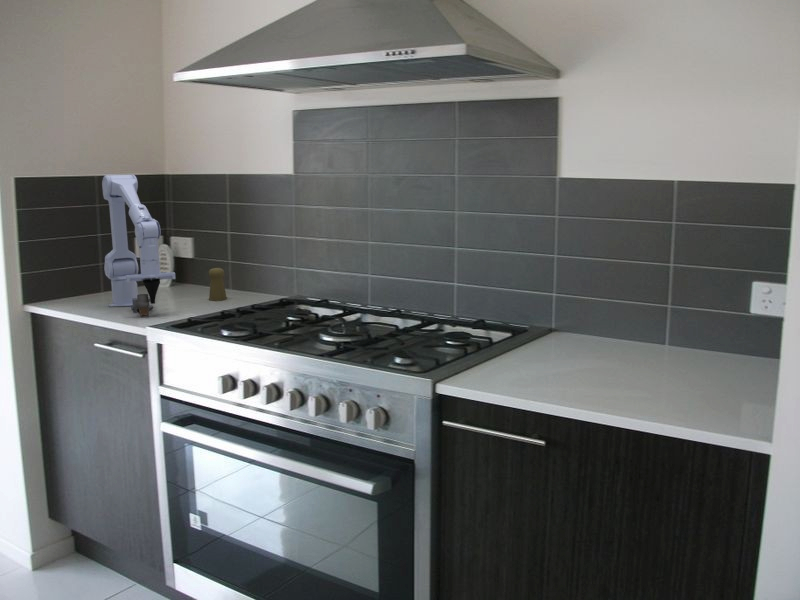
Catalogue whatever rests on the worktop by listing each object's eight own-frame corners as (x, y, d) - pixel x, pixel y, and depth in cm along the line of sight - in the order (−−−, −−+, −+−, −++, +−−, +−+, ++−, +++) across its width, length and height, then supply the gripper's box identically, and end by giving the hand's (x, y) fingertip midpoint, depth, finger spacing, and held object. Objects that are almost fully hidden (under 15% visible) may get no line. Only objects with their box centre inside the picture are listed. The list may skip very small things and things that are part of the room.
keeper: (133, 311, 258) (132, 298, 258) (153, 309, 260) (153, 297, 260) (133, 312, 256) (132, 299, 255) (154, 311, 258) (153, 298, 257)
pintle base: (135, 306, 266) (134, 293, 265) (156, 306, 266) (155, 293, 265) (128, 310, 259) (127, 297, 259) (149, 310, 259) (148, 297, 258)
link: (135, 305, 264) (133, 287, 263) (149, 304, 265) (147, 286, 264) (136, 315, 247) (135, 296, 246) (151, 314, 248) (150, 295, 247)
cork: (216, 301, 274) (215, 269, 272) (205, 300, 277) (203, 268, 275) (230, 299, 278) (228, 267, 276) (219, 297, 282) (217, 266, 280)
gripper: (125, 262, 241) (129, 307, 244) (175, 260, 246) (178, 303, 249) (124, 260, 248) (128, 303, 250) (172, 257, 253) (175, 299, 255)
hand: (152, 303), depth 250 cm, fingers closed
